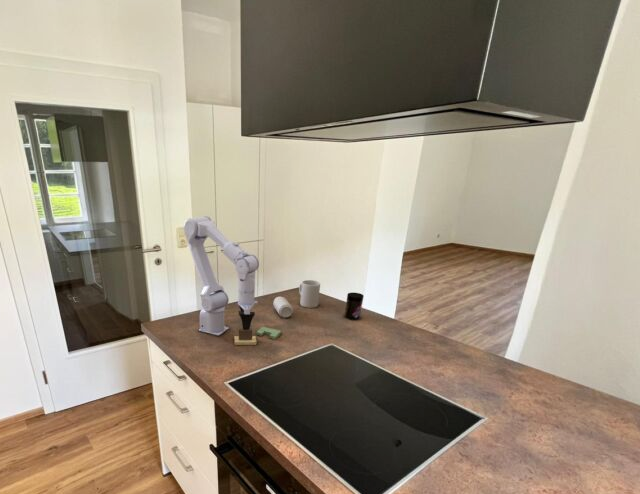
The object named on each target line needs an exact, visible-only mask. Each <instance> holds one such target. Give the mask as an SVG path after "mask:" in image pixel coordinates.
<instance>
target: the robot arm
mask: <svg viewBox="0 0 640 494" xmlns="http://www.w3.org/2000/svg"><path fill="white" fill-rule="evenodd" d="M182 230H183V232H184V235H185V237H186V241H187V246H188V249H189V251H190V255H191V257H192V260H193V262H194V265H195V268H196V271H197V274H198V276H199V279H200V282H201V285H202V291H201V292H200V293H199V296H200V301H201V306H202V308H201V310H200V311H199V329H198V331H199V332H203V333H207V334H209V335H213V336H218V337H219V336H221V335H222V334H224V333H225V332H226V331H228V330H229V329H230V328H229V327H228V326H226V325H225V309H226V306H227V305H228V304H229V302H230V301H229V295H228V293H227V292H226V291H225V289H224V287H223V286H222V285H220V284H218V283H217V280H216V277H215V274H214V271H213V268H212V266H211V263H210V259H209V257H208V254H207V251H206V247H205V246H204V244H205V241H206V240H207V239H208V238H209V239H211V240H212V241H213V242H214V243H215V244H217V245H218V246H219V247H220V248H221V249H222V253H223V255H224V256H225V258H227V259H229V261H230V262H232V264H233V265H234V268H235V271H236V273H237V278H238V290H237V291H238V292H237V293H238V294H237V295H238V297H237V299H238V301H237V305H238V307H239V310H238V315H239V317H240V320H241V325H242V328H243V330H249V329H250V328H251V325H252V321H253V319H254V317H255V316H256V312H255V311H251V310H252V308H253V307H254V306H255V305H258V301H257V300H255V292H256V271H258V269H259V267H260V262H259V259H258V257H257V256H256V255H255V254H249V253H248V251H245V250H244V249H243V247H241V246H240V244H239V243H238V242H237V241H230V240H229V239H228V238H227V237H226V236H225V234H223V232H222V231H221V230H220V229H219V228H218V227H217V226H216V222H215V221H214V220H213V219H212V218H211V217H210V216H208V215H206V216H202V217H193V218H191V217H190V218H187V219H186V220H185V222H184V224H183V228H182Z"/></svg>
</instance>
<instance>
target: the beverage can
mask: <svg viewBox="0 0 640 494" xmlns="http://www.w3.org/2000/svg"><path fill="white" fill-rule="evenodd" d="M272 304H273V307H274V309H275V310H276V312H277V313H278V315H279V316H280V317H281V318H283V319H287V318H289V317H291V316H292V315H293V313H294V308H293V306H292V305H291V304H290V302H289V301H288V300H287V298H286V297H284V296H282V295H281V296H277V297H275V298H274V299H273V303H272Z"/></svg>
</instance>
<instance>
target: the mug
mask: <svg viewBox="0 0 640 494" xmlns="http://www.w3.org/2000/svg"><path fill="white" fill-rule="evenodd" d="M320 289H321V282H319V281H317V280H311V279H309V280H308V279H306V280H302V282H301V283H300V284H299V287H298V292H299V293H298V294H299V295H300V300H299V304H300V306H301V307H303V308H309V309H313V308H317V307H318V306H319V301H320V299H319V298H320V291H321V290H320Z"/></svg>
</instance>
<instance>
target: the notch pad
mask: <svg viewBox="0 0 640 494" xmlns="http://www.w3.org/2000/svg"><path fill="white" fill-rule="evenodd" d="M255 334H256V335H255V336H258V337H259V336H260V337H263V336H264V335H268V336H269V339H271V340H276V339H277V338H279V336H280V335H281V334H282V330H279V329H274V328H270V327H266V326H261V328H260V329H258V330H257V331H256V333H255Z"/></svg>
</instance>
